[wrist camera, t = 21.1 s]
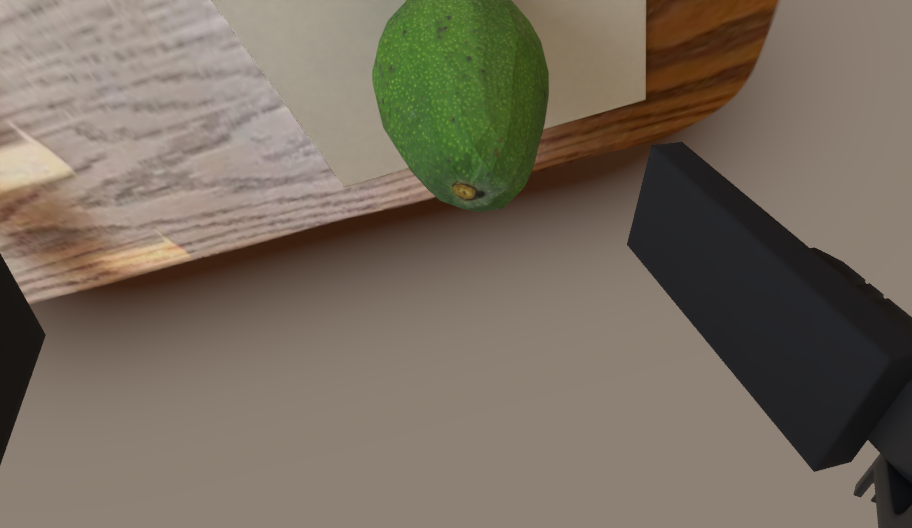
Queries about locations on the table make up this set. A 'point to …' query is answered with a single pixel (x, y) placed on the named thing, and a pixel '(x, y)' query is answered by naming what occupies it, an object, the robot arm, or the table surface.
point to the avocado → (463, 97)
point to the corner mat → (354, 50)
